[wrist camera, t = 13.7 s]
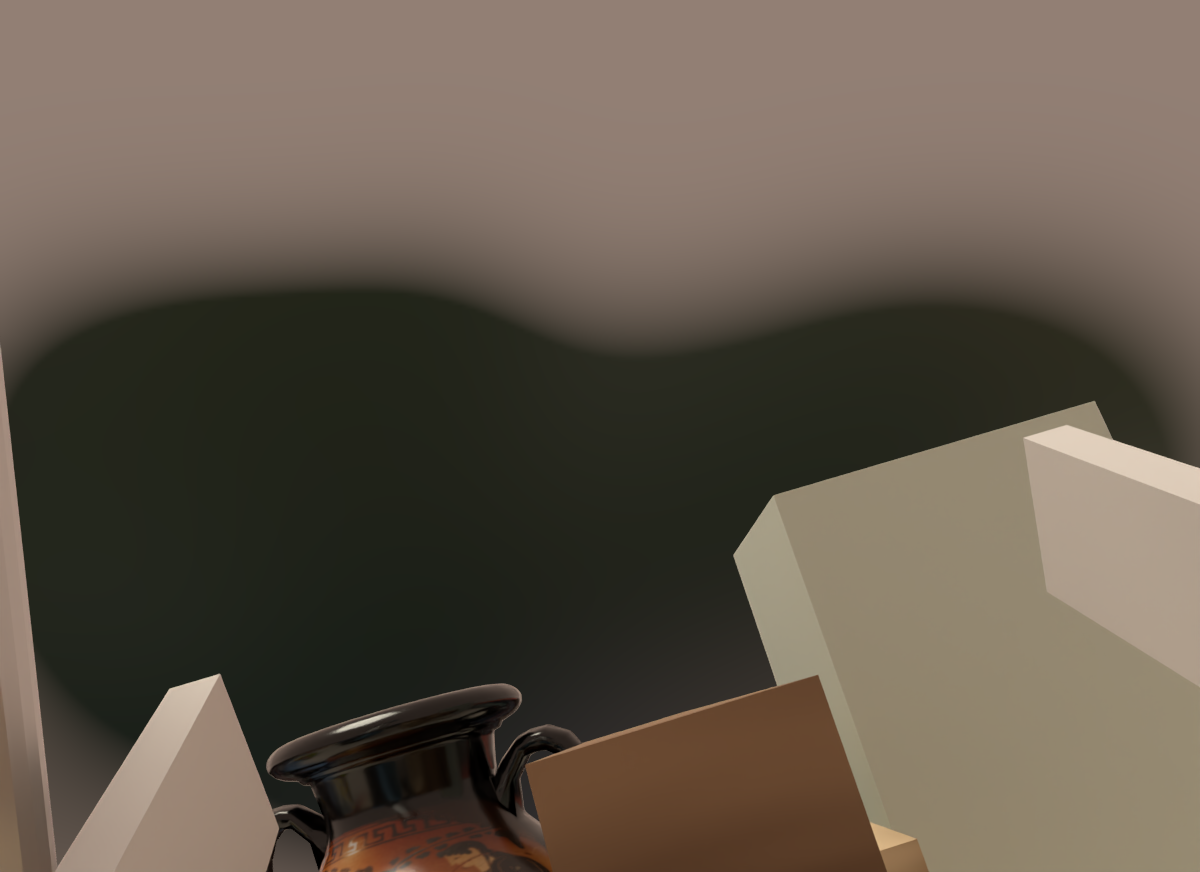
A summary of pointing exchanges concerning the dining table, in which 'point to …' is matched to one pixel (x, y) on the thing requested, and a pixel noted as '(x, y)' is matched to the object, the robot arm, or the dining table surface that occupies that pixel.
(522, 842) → the amphora vase
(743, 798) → the beam
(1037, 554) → the beige tall block
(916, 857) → the low block
